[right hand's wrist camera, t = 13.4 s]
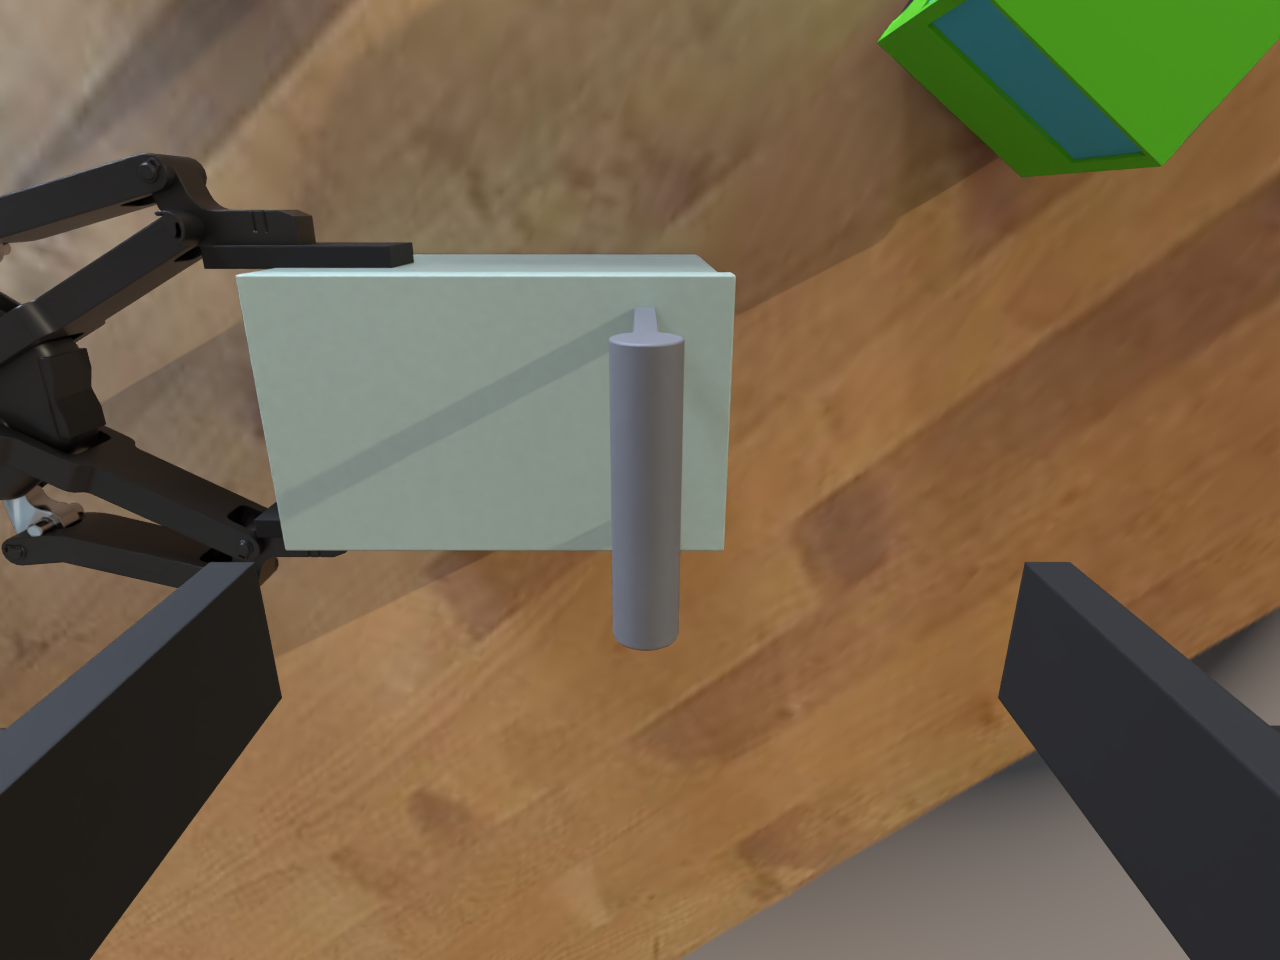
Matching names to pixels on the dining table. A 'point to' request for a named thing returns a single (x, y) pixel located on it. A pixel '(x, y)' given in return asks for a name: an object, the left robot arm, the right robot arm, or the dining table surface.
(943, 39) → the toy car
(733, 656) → the dining table surface
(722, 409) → the lid
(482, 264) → the chest
